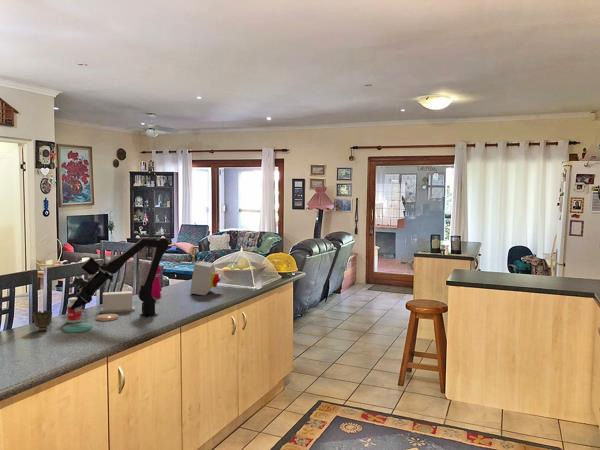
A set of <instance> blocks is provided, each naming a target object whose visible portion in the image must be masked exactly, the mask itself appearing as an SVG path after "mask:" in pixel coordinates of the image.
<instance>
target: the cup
mask: <svg viewBox="0 0 600 450" xmlns="http://www.w3.org/2000/svg"><path fill="white" fill-rule="evenodd" d="M52 316H53V311H50V310H49V309H48V310H43V312H42V311H41V310H39V311H35V312H33V313H32V318H33V323H34V326H36V328H37V330H38V331H39V332H44V331H47V330H48V327H49V326H50V325H51V322H52V318H53V317H52Z"/></svg>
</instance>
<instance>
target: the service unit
mask: <svg viewBox="0 0 600 450" xmlns="http://www.w3.org/2000/svg"><path fill="white" fill-rule="evenodd" d="M135 310H136V309H135V305H133V291H131V290H130V291H110V292H109V291H108V292H102V307H100V314H110V313H123V312H135Z"/></svg>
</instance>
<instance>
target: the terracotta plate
mask: <svg viewBox="0 0 600 450" xmlns="http://www.w3.org/2000/svg"><path fill="white" fill-rule="evenodd" d="M119 317H120V316H119V314H117V313H101V314H98V315H97V316H96V317H95V319H96V321H98V322H110V321H116V320H118V319H119Z"/></svg>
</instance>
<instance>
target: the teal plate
mask: <svg viewBox="0 0 600 450" xmlns="http://www.w3.org/2000/svg"><path fill="white" fill-rule="evenodd" d="M93 328H94V325H93V324H92V323H89V322H78V323H69V324H66V325H64V326H63V327H62V332H64V333H69V334H70V333H71V334H74V333H75V334H76V333H78V334H79V333H85V332H87V331H91V330H92V329H93Z"/></svg>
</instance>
